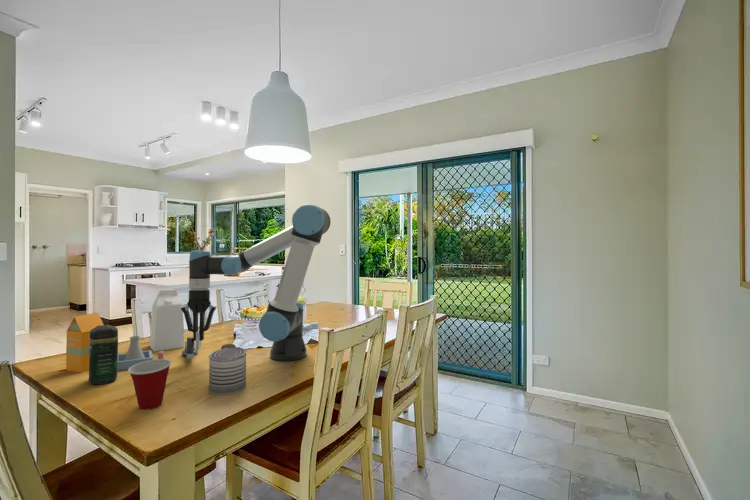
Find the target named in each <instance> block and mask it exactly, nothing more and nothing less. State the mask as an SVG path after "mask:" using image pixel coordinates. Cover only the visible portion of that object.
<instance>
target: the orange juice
mask: <svg viewBox="0 0 750 500" xmlns="http://www.w3.org/2000/svg"><path fill="white" fill-rule="evenodd" d="M101 325H105V324H104V322H103V320H102V318H101V316H100V313H99V312H93V313H87V314H81V315H75V316H73V319H72V321H71V323H70V324H69V326H68V329H67V330H66V347H65V348H66V349H65V350H66V351H65V354H66V357H65V359H66V360H65V361H66V363H65V366H66V367H65V370H66V371H70V372H76V373H83V372H89V350H90V331H91V330H92V329H93V328H95V327H97V326H101Z"/></svg>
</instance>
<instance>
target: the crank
mask: <svg viewBox="0 0 750 500" xmlns="http://www.w3.org/2000/svg"><path fill="white" fill-rule="evenodd" d="M195 349H196V341H194V340H193V336H188V337H187V338H186V341H184V350H185V351H187V357H186V360H191V359H194V358H195V355H194V350H195Z"/></svg>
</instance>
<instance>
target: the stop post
mask: <svg viewBox="0 0 750 500" xmlns="http://www.w3.org/2000/svg"><path fill="white" fill-rule="evenodd" d="M164 353H165V351H164V350H160V351H157V359H165V357H164Z"/></svg>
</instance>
